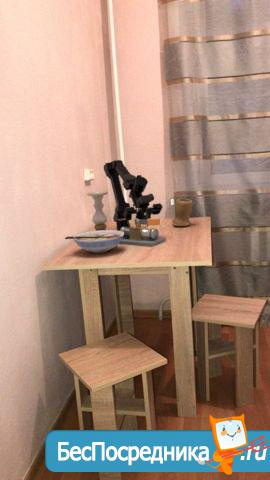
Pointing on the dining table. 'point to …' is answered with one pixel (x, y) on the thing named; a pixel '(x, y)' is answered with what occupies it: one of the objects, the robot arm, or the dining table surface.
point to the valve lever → (147, 221)
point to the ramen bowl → (98, 240)
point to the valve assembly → (141, 236)
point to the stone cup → (182, 212)
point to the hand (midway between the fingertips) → (149, 225)
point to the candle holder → (98, 210)
